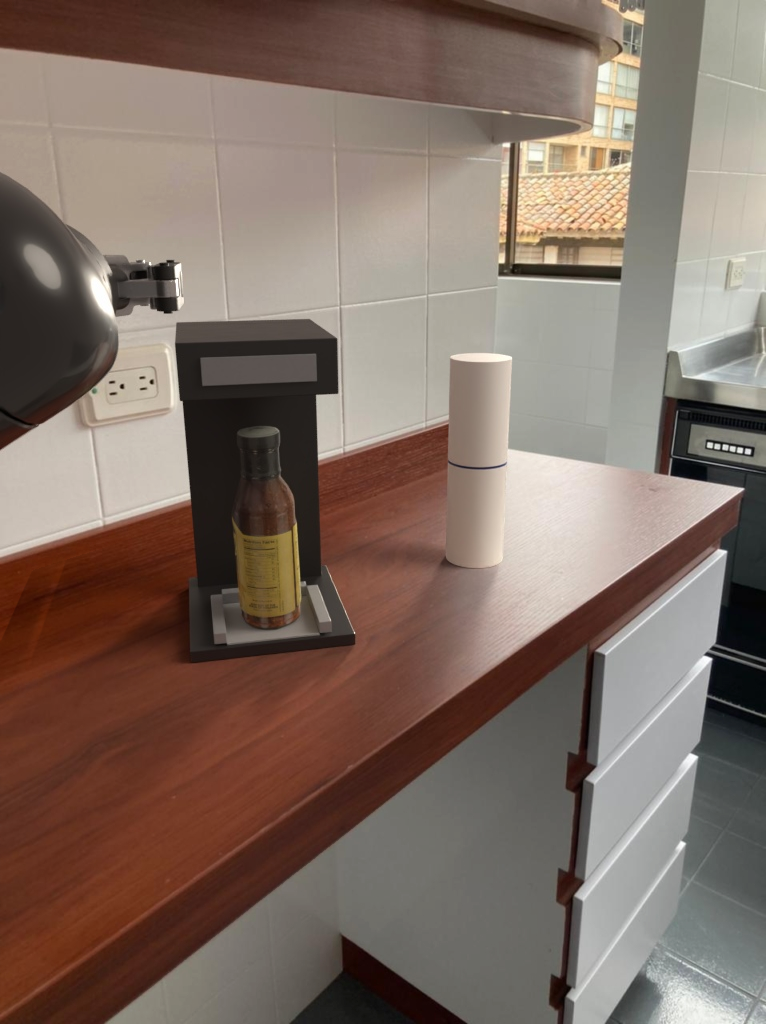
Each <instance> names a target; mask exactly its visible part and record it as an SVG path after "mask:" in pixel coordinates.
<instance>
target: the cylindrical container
mask: <svg viewBox="0 0 766 1024" xmlns="http://www.w3.org/2000/svg"><path fill="white" fill-rule="evenodd" d="M512 367H513V357H512V356H511V355H507V354H502V353H492V352H467V353H457V354H453V355H450V357H449V387H448V388H449V392H448V394H449V395H448V433H447V434H448V435H447V438H448V439H447V475H446V478H447V479H446V522H445V525H446V526H445V559H446V561H448V562H449V563H451V564H452V565H454V566H458V567H462V568H468V569H487V568H491V567H494V566H495V567H496V566H497V565H499V564H501V562H502V561H503V557H504V537H505V535H504V534H505V517H506V516H505V515H506V495H507V474H508V473H507V472H508V456H509V455H508V453H509V429H510V413H511V412H510V411H511V391H512V389H511V387H512V371H513V369H512Z"/></svg>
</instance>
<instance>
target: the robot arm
mask: <svg viewBox="0 0 766 1024" xmlns="http://www.w3.org/2000/svg"><path fill="white" fill-rule="evenodd" d="M183 283H184V282H183V273H182V262H181V261H180V262H179V261H176V260H175V259H166V260H165V261H163V262H158V263H156V264H152V262H151V261H145V259H135V261H129V259H128V257H127V256H126V255H124V254H102V252H101V251H100V249H98V247H97V246H96V244H94V243H93V242H92V241H91V240H90V239H89V238H88V237H87V236H85V234H84V233H82V232H80V231H79V230H77V229H76V228H74V227H72V226H71V225H69V224H66V223H65V222H64V221H63V220H62V218H61V217H60V216H58V214H57V213H56V212H55V210H53V209H52V208H51V207H50V206H49V205H48V204H47V203H45V202H44V201H43V200H42V199H41V198H39V196H38V195H36V194H35V193H34V192H33V191H32V190H30V189H29V188H27V187H26V186H24V185H23V184H22V183H20V182H19V181H17V180H15V179H14V178H12V177H10V176H9V175H7V174H6V173H3V172H1V171H0V452H1V451H2V450H4V449H6V448H7V447H9V446H10V445H12V444H14V443H15V442H16V441H18V440H19V439H21V438H22V437H24V436H26V435H28V434H29V433H31V432H32V431H34V430H36V429H37V428H38V427H39V426H40V425H42V424H43V425H44V424H45V423H46V422H48V421H49V420H51V419H53V418H54V417H55V416H57V415H59V414H61V413H62V412H63V411H65V410H66V409H68V408H69V407H71V406H72V405H75V404H76V403H77V402H78V401H80V400H81V399H82V398H84V397H85V396H86V395H87V394H89V393H90V392H91V391H92V390H93V389H95V388H96V387H97V386H98V385H99V384H100V383H101V382H102V381H104V379H105V378H106V377H107V376H108V375H109V372H111V370H112V369H113V367H114V365H115V362H116V361H117V358H118V353H119V346H120V345H119V343H120V342H119V326H118V322H117V318H119V317H126V316H130V315H131V314H132V313H133V311H134V307H135V306H140V307H149V309H150V310H153V311H154V310H156V312H160V313H161V312H162V313H163V314H164V315H167V314H168V315H170V314H171V315H172V314H173V313H174V312H179V311H180V310H181V309H182V307H183V306H184V304H185V297H184V284H183Z"/></svg>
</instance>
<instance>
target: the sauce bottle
mask: <svg viewBox="0 0 766 1024" xmlns="http://www.w3.org/2000/svg"><path fill="white" fill-rule="evenodd" d="M237 446H238V448H239V450H240V460H241V472H240V473H241V479H240V482H239V486H238V490H237V494H236V497H235V501H234V505H233V509H232V523H233V533H234V547H235V556H236V557H235V559H236V567H237V579H238V591H239V601H240V607H241V610H242V617H243V618H244V620H245V621H246V623H249V624H250V625H252V626H254V627H259V628H270V629H275V628H281V627H283V626H286V625H288V624H290V623H293V622H294V621H296V620H297V619H298V618H299V616H300V602H301V586H300V568H299V553H298V536H297V521H296V518H295V506H294V504H295V503H294V498H293V494H292V493H291V490H290V489H289V487H288V485H287V484H286V482H285V481H284V480H283V479H282V477H281V474H280V473H281V468H280V459H279V446H280V432H279V430H278V429H277V428H275V427H270V426H255V427H248V428H243V429H240V430H239V431H238V432H237Z"/></svg>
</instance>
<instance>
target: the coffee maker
mask: <svg viewBox="0 0 766 1024" xmlns="http://www.w3.org/2000/svg"><path fill="white" fill-rule="evenodd" d="M174 347H175V349H174V350H175V361H176V373H177V374H176V375H177V382H178V384H177V385H178V397H179V402H182V413H183V425H184V438H185V448H186V458H187V459H186V460H187V461H186V462H187V473H188V480H189V481H188V484H189V495H190V507H191V519H192V531H193V532H192V533H193V542H194V543H193V544H194V555H195V568H196V576H193V577H188V608H189V609H188V613H189V614H188V615H189V656H190V663H192V664H193V663H202V662H213V661H220V660H228V659H237V658H247V657H255V656H256V657H257V656H264V655H273V654H281V653H290V652H300V651H307V650H308V651H309V650H316V649H324V648H325V649H327V648H335V647H343V646H344V647H345V646H352V645H356V632H355V630H354V627H353V625H352V623H351V621H350V618H349V616H348V614H347V611H346V609H345V607H344V604H343V602H342V600H341V599H342V598H340V595H339V593H338V590H337V588H336V586H335V583H334V581H333V578H332V576H331V573H330V572H329V569H328V567H327V565H324V564H323V565H322V546H321V545H322V544H321V541H322V540H321V512H320V509H321V508H320V507H321V506H320V480H319V479H320V476H319V446H318V445H319V442H318V441H319V440H318V411H317V410H318V409H317V408H318V405H317V396H322V395H339V390H340V389H339V350H338V349H339V348H338V347H339V346H338V337H337V336H335V335H333V334H332V333H331V332H329V331H327V330H326V329H325V328H323V326H320V325H319V324H317V323H316V322H315V321H313V320H312V319H310V318H294V319H293V318H289V319H288V318H287V319H255V320H254V319H253V320H215V321H214V320H212V321H177V322H176V323H175V338H174ZM255 426H270V427H275V428H277V429H278V430H279V432H280V446H279V459H280V468H281V473H280V474H281V477H282V479H283V480H284V481H285V482H286V484H287V485H288V487H289V489H290V490H291V493H292V494H293V498H294V503H295V504H294V506H295V518H296V521H297V536H298V553H299V568H300V586H301V602H300V616H299V618H298V619H297V620H296V621H294V622H293V623H290V624H288V625H286V626H283V627H281V628H275V629H270V628H259V627H254V626H252V625H250V624H249V623H246V621H245V620H244V618H243V617H242V610H241V607H240V601H239V591H238V579H237V567H236V559H235V557H236V556H235V547H234V533H233V523H232V509H233V505H234V501H235V497H236V494H237V490H238V486H239V482H240V479H241V473H240V472H241V460H240V450H239V448H238V446H237V432H238V431H239V430H240V429H243V428H248V427H255Z"/></svg>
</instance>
